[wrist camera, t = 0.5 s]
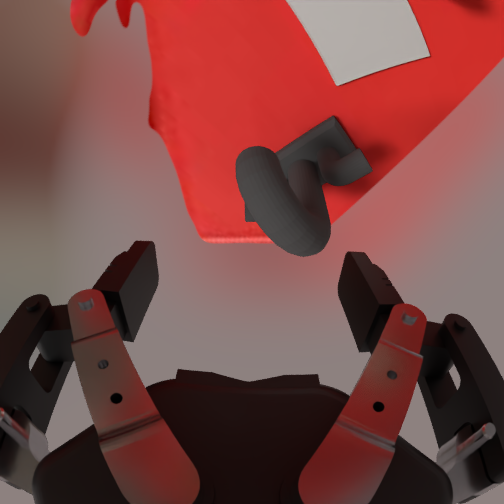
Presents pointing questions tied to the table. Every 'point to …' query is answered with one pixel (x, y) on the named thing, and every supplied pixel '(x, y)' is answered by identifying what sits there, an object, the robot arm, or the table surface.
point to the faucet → (298, 185)
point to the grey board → (361, 34)
